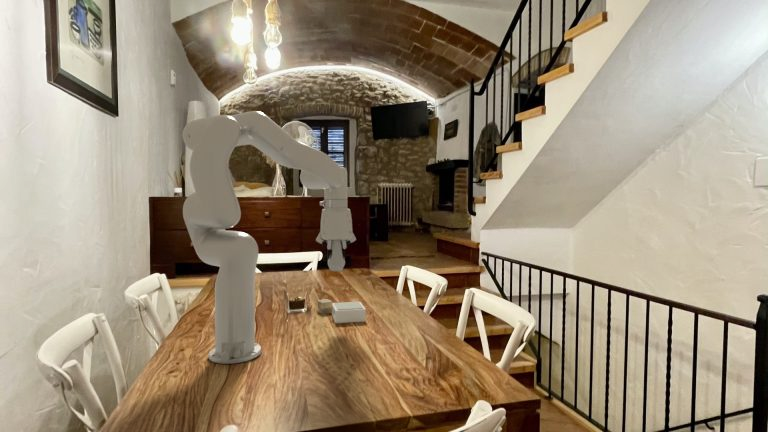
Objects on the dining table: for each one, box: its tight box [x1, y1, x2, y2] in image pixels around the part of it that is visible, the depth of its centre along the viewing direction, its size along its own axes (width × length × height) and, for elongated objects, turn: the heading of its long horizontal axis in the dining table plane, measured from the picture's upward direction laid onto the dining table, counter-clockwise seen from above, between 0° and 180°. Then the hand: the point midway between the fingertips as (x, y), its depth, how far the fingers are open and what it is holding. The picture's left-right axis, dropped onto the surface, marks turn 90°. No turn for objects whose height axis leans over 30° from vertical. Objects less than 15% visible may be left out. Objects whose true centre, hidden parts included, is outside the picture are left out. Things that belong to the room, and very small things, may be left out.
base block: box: [331, 301, 367, 324], centre depth 137 cm, size 10×10×4 cm
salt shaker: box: [327, 240, 346, 272], centre depth 134 cm, size 6×6×13 cm
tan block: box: [316, 298, 334, 315], centre depth 144 cm, size 4×4×4 cm
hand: (336, 260), depth 134 cm, fingers closed on salt shaker, 3 cm apart
